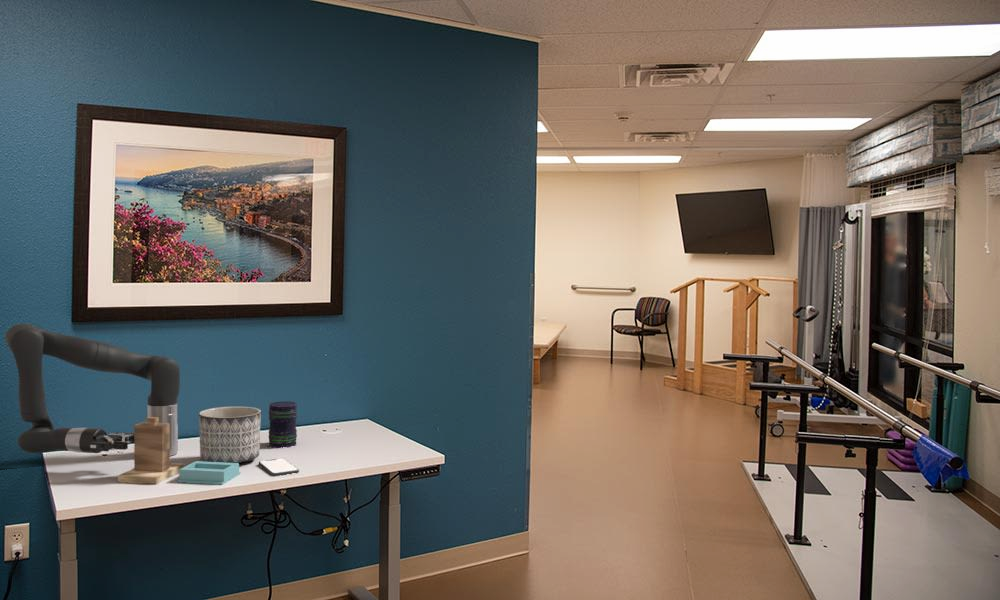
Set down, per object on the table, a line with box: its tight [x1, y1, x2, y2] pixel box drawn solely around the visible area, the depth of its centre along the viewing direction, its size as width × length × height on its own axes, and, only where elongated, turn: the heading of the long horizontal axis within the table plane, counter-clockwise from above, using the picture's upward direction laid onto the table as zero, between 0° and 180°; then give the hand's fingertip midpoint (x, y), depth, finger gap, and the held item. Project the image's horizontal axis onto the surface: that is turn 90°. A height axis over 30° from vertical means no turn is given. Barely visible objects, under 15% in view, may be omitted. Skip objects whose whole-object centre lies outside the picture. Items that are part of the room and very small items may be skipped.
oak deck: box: [117, 462, 185, 485], centre depth 235 cm, size 16×12×2 cm
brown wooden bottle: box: [133, 416, 170, 472], centre depth 235 cm, size 4×9×16 cm, turn 84°
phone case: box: [258, 457, 300, 477], centre depth 247 cm, size 9×2×16 cm
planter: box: [198, 406, 262, 464], centre depth 254 cm, size 19×19×16 cm
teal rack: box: [177, 460, 241, 486], centre depth 234 cm, size 12×14×4 cm
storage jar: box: [268, 401, 298, 449], centre depth 278 cm, size 10×10×15 cm
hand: (135, 442), depth 235 cm, fingers open, 8 cm apart
